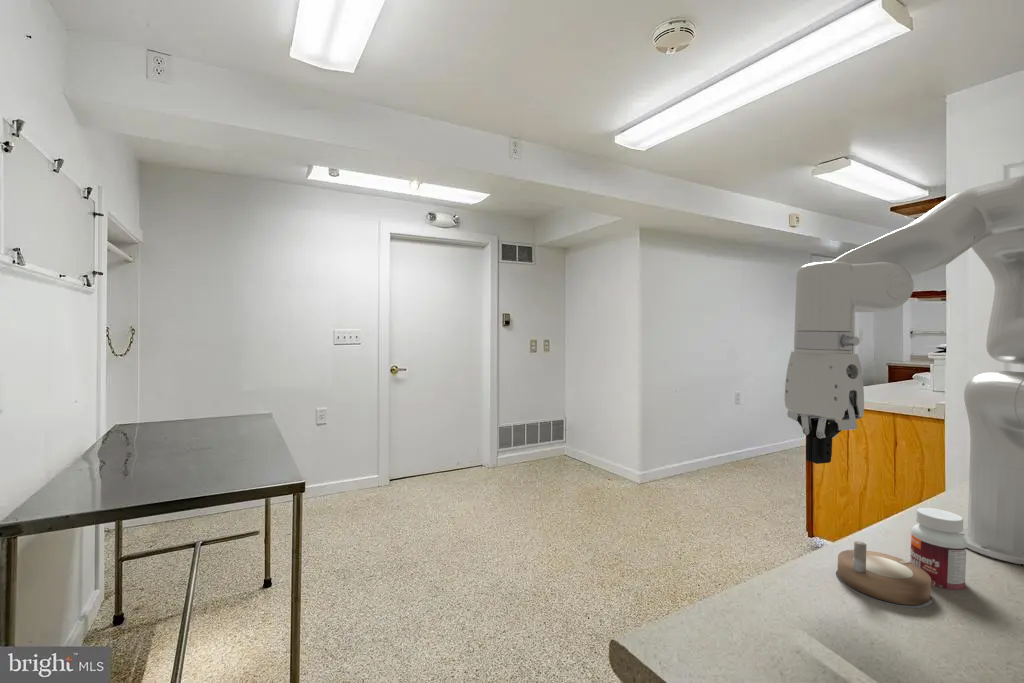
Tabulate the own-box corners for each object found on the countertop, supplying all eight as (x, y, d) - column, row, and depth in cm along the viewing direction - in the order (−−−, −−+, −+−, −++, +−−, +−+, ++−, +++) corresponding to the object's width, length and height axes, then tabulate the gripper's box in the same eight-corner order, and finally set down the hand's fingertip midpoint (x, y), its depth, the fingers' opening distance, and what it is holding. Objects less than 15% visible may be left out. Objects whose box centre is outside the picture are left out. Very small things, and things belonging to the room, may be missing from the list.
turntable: (870, 561, 75) (871, 521, 75) (949, 597, 65) (951, 551, 65) (820, 570, 72) (821, 528, 72) (895, 610, 62) (896, 561, 61)
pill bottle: (899, 580, 73) (901, 507, 72) (929, 575, 74) (931, 504, 74) (944, 602, 67) (947, 523, 66) (976, 597, 68) (978, 519, 68)
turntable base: (870, 571, 75) (870, 561, 75) (952, 610, 65) (952, 599, 65) (817, 581, 72) (818, 571, 72) (895, 624, 61) (895, 613, 61)
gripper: (891, 345, 66) (886, 474, 67) (798, 342, 80) (795, 448, 81) (852, 345, 64) (847, 478, 64) (763, 341, 78) (760, 451, 79)
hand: (818, 461), depth 73 cm, fingers closed
